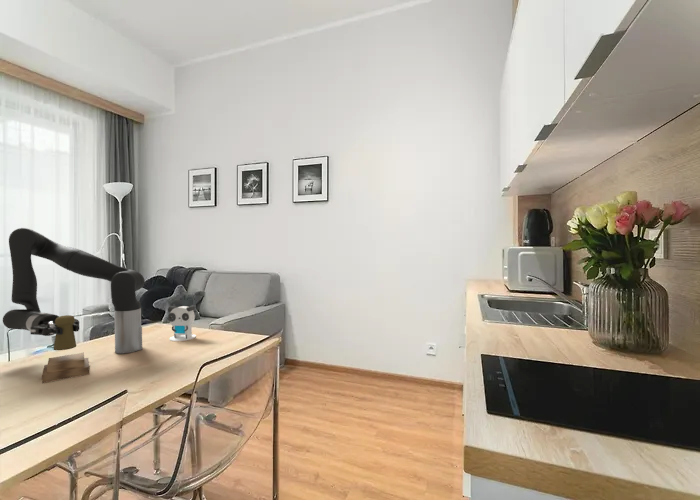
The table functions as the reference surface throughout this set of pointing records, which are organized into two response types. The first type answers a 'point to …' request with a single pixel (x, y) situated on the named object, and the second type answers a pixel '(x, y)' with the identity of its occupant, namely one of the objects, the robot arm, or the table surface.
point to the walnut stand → (65, 367)
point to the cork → (65, 333)
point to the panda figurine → (181, 322)
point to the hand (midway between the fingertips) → (69, 329)
